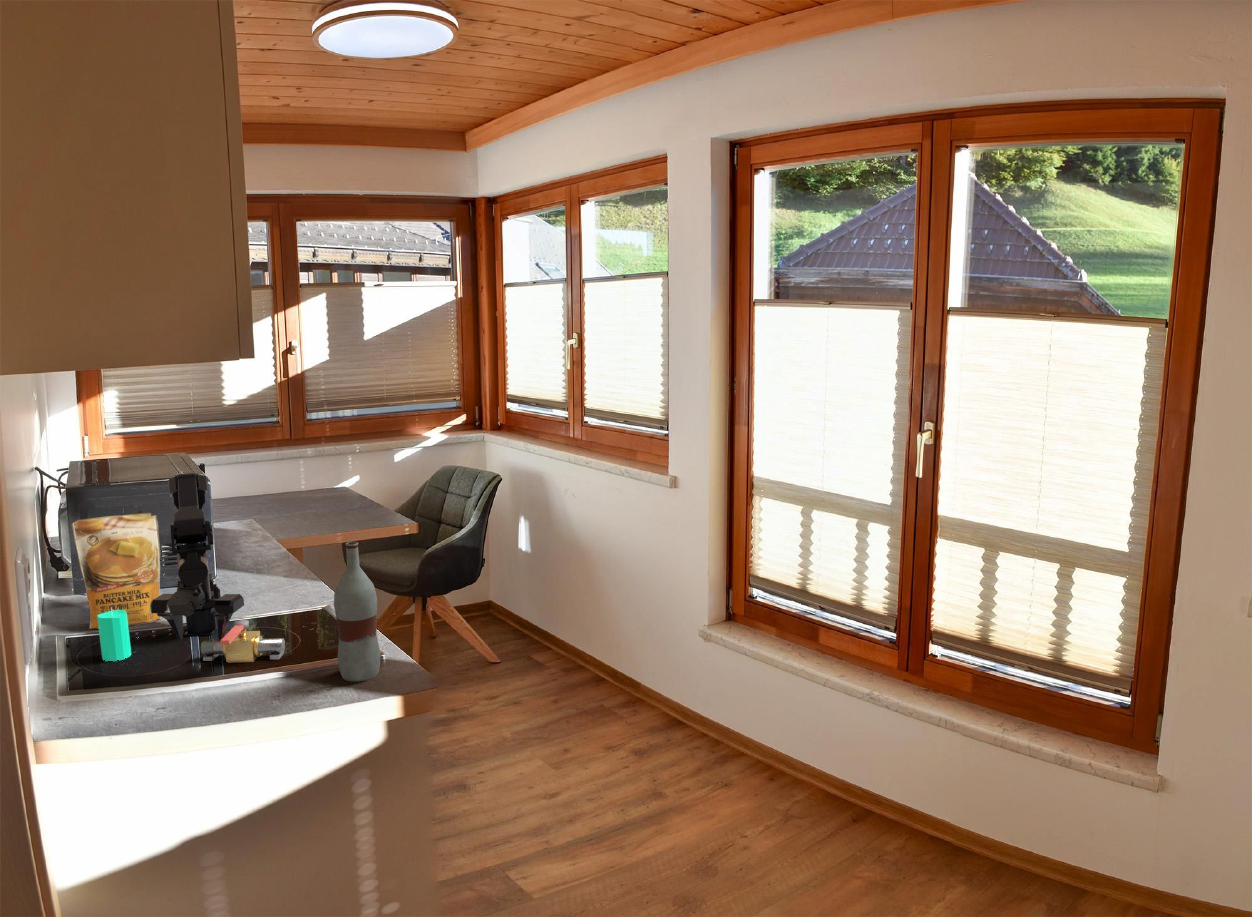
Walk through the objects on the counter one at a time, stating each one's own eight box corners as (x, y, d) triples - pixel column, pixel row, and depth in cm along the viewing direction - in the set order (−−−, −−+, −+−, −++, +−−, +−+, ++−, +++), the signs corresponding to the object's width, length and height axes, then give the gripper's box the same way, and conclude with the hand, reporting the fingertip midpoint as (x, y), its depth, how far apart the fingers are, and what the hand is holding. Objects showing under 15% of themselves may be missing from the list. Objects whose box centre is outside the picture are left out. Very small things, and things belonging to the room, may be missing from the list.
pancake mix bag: (85, 624, 242) (72, 517, 237) (167, 613, 250) (157, 509, 245) (82, 633, 236) (69, 524, 231) (167, 621, 244) (156, 515, 239)
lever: (236, 625, 220) (236, 620, 220) (250, 624, 220) (250, 619, 220) (217, 645, 208) (217, 640, 207) (232, 644, 208) (232, 639, 208)
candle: (102, 663, 217) (96, 613, 215) (102, 654, 222) (96, 605, 220) (131, 658, 220) (125, 609, 217) (131, 649, 225) (125, 601, 223)
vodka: (382, 679, 207) (374, 546, 201) (338, 685, 204) (329, 550, 198) (380, 663, 215) (373, 535, 210) (338, 668, 213) (329, 539, 207)
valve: (199, 663, 216) (196, 634, 215) (209, 653, 222) (206, 625, 221) (280, 661, 217) (277, 632, 216) (287, 650, 223) (285, 622, 222)
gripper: (132, 584, 201) (140, 653, 204) (218, 584, 200) (225, 654, 203) (160, 568, 212) (167, 634, 215) (242, 568, 211) (248, 635, 214)
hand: (200, 640), depth 211 cm, fingers open, 9 cm apart
